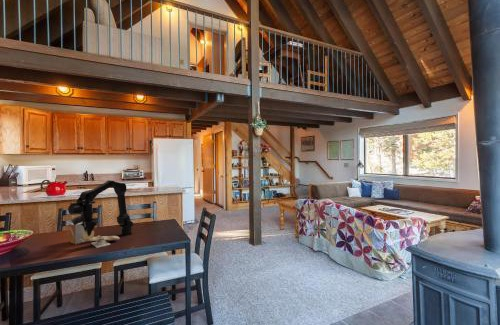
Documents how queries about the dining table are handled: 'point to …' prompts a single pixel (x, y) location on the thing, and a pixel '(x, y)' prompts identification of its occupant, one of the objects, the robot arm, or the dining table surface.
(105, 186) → the robot arm
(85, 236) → the wooden block
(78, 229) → the small box
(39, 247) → the dining table surface
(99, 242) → the pivot stand
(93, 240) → the beam
